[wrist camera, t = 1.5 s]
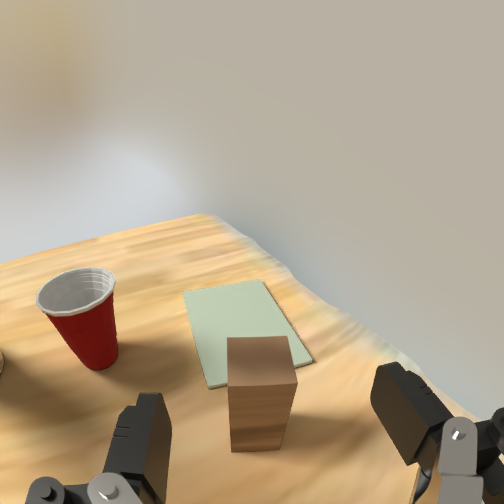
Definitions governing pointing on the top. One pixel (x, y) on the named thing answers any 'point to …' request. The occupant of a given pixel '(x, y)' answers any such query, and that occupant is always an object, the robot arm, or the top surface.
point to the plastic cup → (83, 313)
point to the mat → (235, 324)
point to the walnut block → (259, 391)
